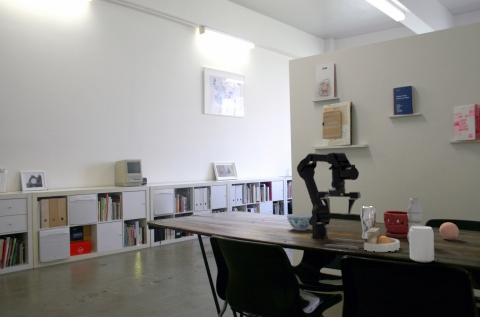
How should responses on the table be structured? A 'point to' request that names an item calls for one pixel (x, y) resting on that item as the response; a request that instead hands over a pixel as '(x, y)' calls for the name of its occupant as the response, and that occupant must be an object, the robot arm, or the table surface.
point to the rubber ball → (383, 240)
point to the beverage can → (421, 243)
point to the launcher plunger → (373, 235)
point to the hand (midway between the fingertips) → (339, 213)
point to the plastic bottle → (414, 214)
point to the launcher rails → (345, 241)
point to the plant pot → (396, 224)
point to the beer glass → (367, 219)
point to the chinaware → (299, 221)
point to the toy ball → (449, 231)
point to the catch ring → (383, 246)
